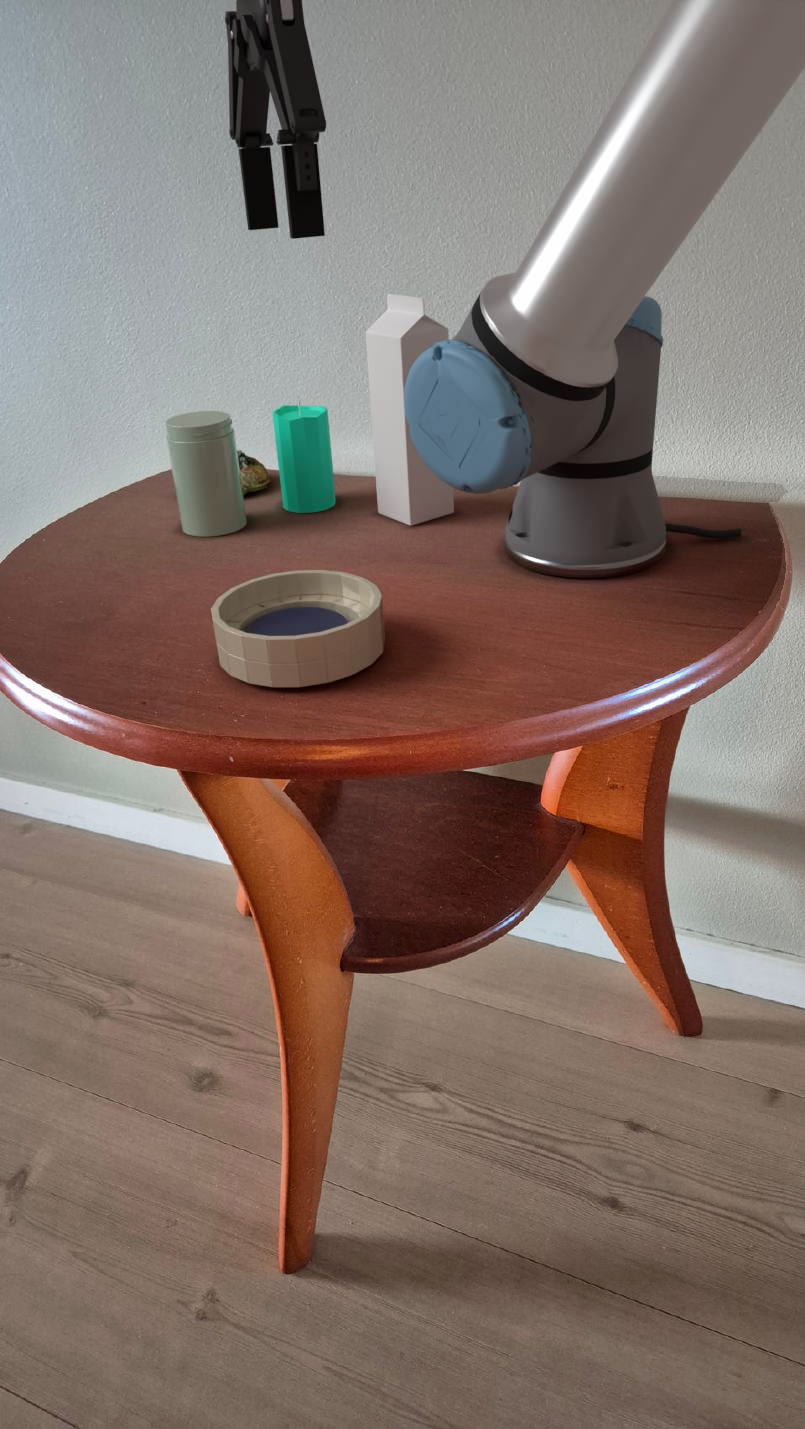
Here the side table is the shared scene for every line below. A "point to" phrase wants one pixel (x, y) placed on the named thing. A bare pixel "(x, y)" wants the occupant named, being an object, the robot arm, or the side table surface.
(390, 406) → the milk
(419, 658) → the side table surface
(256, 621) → the lid
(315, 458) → the candle
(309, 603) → the dish
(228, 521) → the jar
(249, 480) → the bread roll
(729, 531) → the robot arm
